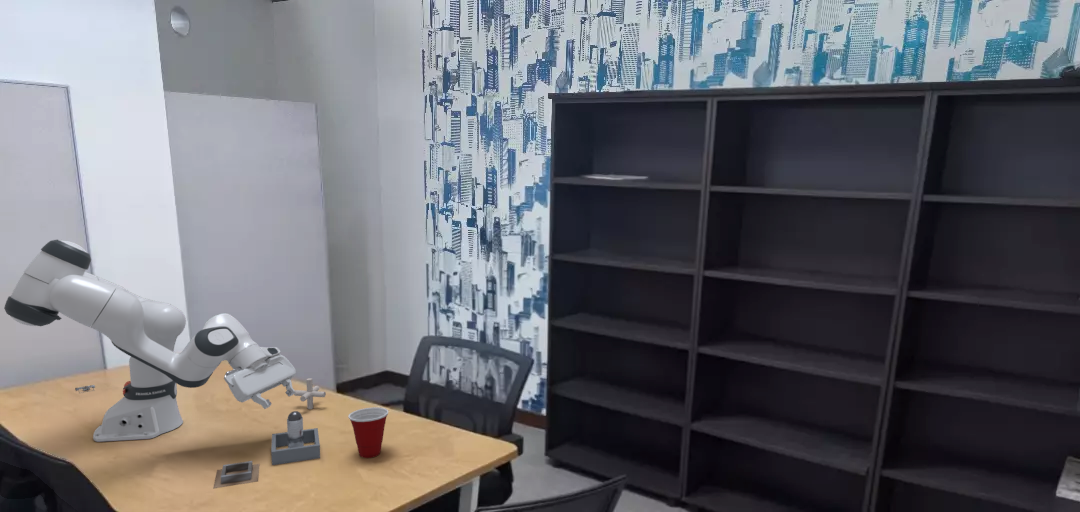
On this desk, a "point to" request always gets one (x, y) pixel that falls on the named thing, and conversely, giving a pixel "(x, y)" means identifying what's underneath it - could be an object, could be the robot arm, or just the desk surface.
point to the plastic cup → (369, 430)
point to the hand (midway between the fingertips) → (280, 400)
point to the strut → (295, 429)
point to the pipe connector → (309, 393)
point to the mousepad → (85, 388)
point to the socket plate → (237, 474)
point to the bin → (295, 448)
